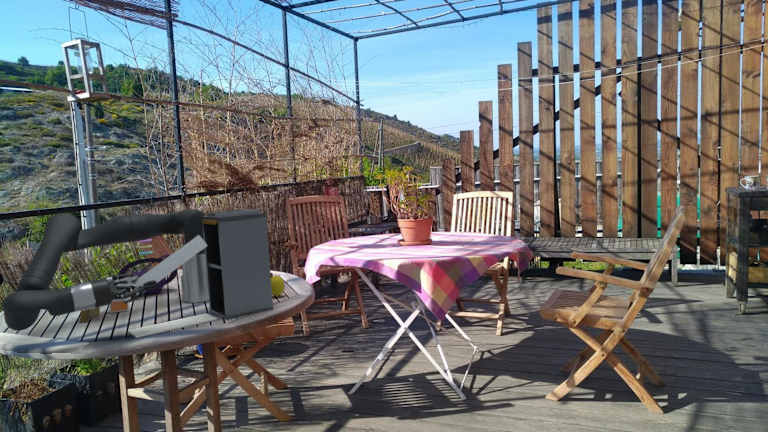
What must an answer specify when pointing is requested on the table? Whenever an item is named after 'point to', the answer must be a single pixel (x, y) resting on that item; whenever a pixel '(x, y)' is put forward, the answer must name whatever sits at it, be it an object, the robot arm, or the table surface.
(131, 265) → the purple handbag
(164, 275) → the panel
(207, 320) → the mat
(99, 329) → the table surface
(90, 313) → the rock
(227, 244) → the rack
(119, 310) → the skincare box
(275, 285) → the lemon
